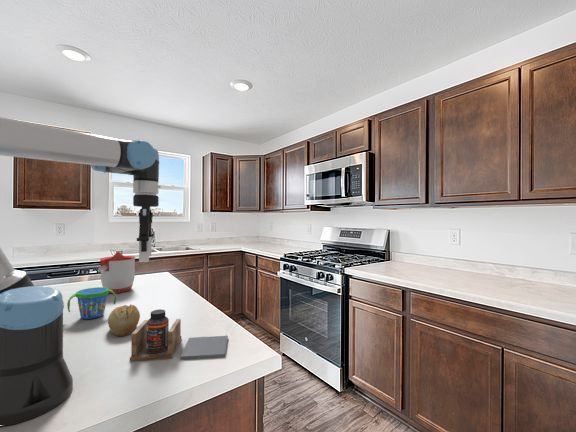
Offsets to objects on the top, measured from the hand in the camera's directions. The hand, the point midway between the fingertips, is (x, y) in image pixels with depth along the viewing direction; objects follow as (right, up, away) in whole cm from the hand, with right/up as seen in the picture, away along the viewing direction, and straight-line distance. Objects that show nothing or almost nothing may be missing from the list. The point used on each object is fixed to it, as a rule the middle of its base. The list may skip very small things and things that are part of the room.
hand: (145, 258), depth 95 cm
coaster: (+23, -25, -9) cm, 35 cm away
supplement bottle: (+9, -26, -10) cm, 29 cm away
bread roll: (-10, -25, +4) cm, 28 cm away
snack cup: (-28, -25, +16) cm, 41 cm away
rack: (+9, -25, -10) cm, 28 cm away
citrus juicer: (-41, -25, +52) cm, 70 cm away
